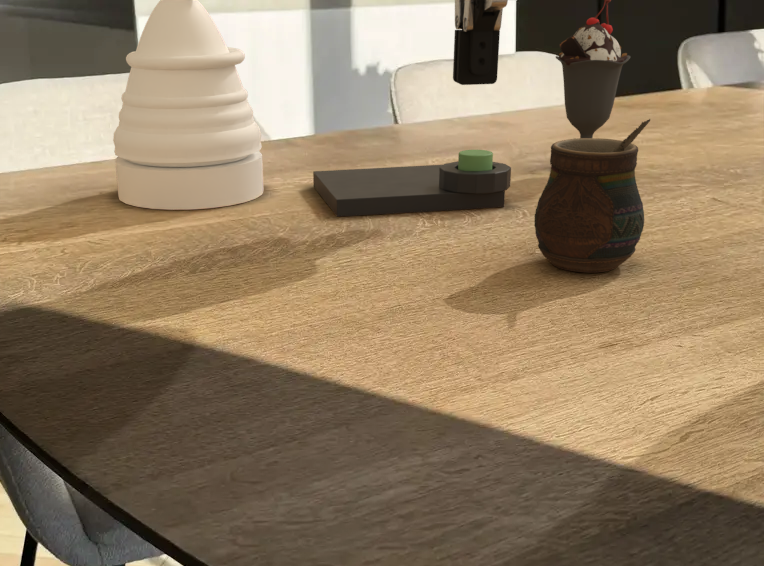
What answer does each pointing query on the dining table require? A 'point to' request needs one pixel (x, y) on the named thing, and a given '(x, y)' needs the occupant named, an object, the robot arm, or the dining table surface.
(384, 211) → the black green button base
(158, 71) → the honey pot
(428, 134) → the dining table surface
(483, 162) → the button
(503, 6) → the robot arm
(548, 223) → the mate gourd
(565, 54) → the sundae
